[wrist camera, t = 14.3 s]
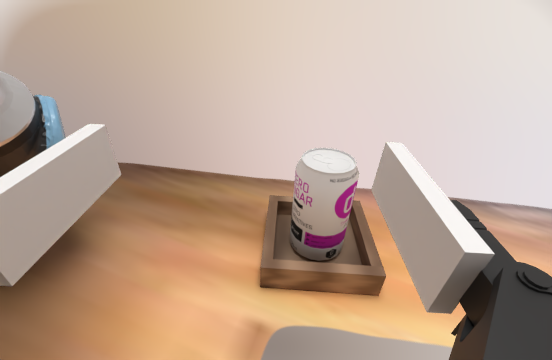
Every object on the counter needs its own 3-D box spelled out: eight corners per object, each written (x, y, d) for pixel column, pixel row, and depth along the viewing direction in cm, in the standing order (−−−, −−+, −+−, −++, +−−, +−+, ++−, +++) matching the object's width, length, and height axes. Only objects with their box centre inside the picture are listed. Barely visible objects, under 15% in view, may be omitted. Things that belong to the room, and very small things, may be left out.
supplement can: (350, 241, 43) (371, 158, 35) (324, 273, 38) (342, 184, 30) (308, 219, 47) (318, 141, 39) (279, 245, 42) (284, 160, 34)
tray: (260, 287, 36) (260, 267, 34) (269, 212, 50) (269, 195, 48) (378, 295, 36) (386, 276, 34) (355, 218, 50) (359, 200, 47)
